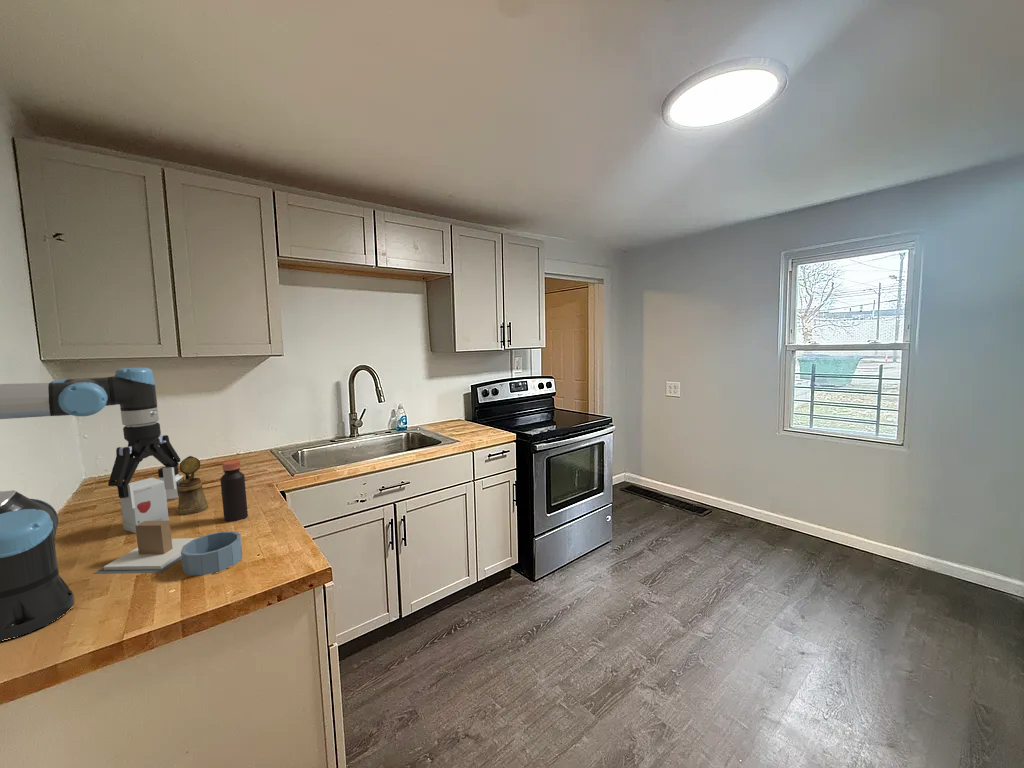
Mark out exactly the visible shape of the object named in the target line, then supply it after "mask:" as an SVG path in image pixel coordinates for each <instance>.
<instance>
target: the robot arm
mask: <svg viewBox="0 0 1024 768" xmlns="http://www.w3.org/2000/svg"><path fill="white" fill-rule="evenodd" d="M114 373H115V374H114V375H113V376H107V377H89V378H88V377H87V378H86V377H85V378H66V379H65V378H64V379H57V380H53V381H50V382H38V383H35V382H34V383H33V382H31V383H28V382H27V383H0V420H8V419H9V420H13V419H25V418H26V419H27V418H38V417H39V418H41V417H60V416H61V417H62V416H74V417H89V416H94V415H95V414H98V413H99V412H101V411H102V410H103V409H104V408H105V407H108V406H117V405H119V408H120V415H121V416H120V417H121V425H123V426H124V427H123V428H122V432H123V437H124V440H125V441H126V442H127V443H128V444H127V446H121V447H120V446H118V447H116V450H115V451H116V453H115V460H114V464H113V466H112V471H111V473H110V477H109V480H108V484H107V485H108V486H109V487H117V492H118V493H117V494H118V498H119V499H120V498H121V500H120V504H121V503H122V509H133V508H135V502H134V494H133V487H132V484H129V483H131V480H132V479H133V476H134V474H135V472H136V470H137V469H138V466H139V464H140V463H141V462H142V461H143V460H144V459H147V458H148V457H151V456H152V457H153V458H155V459H156V460H157V461H158V462H160V463H161V464H162V465H163V467H164V468H162V467H161V468H162V469H163V477H164V485H165V489H176V482H175V475H176V474H175V466H177V467H178V466H180V464H179V463H181V458H180V456H179V455H178V453H177V451H176V450H175V448H174V447H173V445H172V444H171V442H170V438H169V435H167V434H166V435H165V434H164V435H162V433H161V431H162V430H161V424H160V423H159V422H158V421H160V420H159V419H160V418H159V410H158V401H157V392H156V389H157V388H156V383H155V382H156V381H155V377H154V372H153V370H152V369H151V368H149V367H124V368H117V369H116V370H115V372H114ZM122 509H121V510H122ZM58 527H59V516H58V512H57V511H56V510H55V508H54V507H53V506H52V505H51V504H50V503H48V502H46V501H44V500H40V499H37V498H29V497H27V496H25V495H24V494H22V493H20V492H19V491H16V490H5V491H1V490H0V641H2V640H4V639H8V638H13V637H17V636H20V637H22V636H21V635H23V636H25V635H24V634H26V635H28V634H27V633H29V634H31V633H33V632H32V631H34V630H36V629H39V628H41V627H43V626H45V627H47V626H48V625H47V624H49V623H51V622H52V621H54V620H56V619H57V618H59V617H60V616H62V615H63V614H65V613H66V612H67V611H68V610H69V609H70V608H71V607H72V606H73V607H74V605H75V603H74V602H75V595H74V592H73V591H72V590H71V589H70V587H69V586H68V585H67V583H66V582H65V581H64V580H63V579H62V577H61V575H60V572H59V571H60V570H59V565H58V558H57V552H56V550H57V549H56V546H55V545H56V542H55V541H56V540H55V539H56V534H57V530H58ZM65 615H66V614H65ZM56 621H57V620H56ZM51 624H52V623H51ZM46 625H47V626H46ZM49 625H50V624H49ZM43 628H44V627H43ZM41 629H42V628H41ZM39 630H40V629H39ZM36 631H37V630H36ZM30 632H31V633H30ZM34 632H35V631H34ZM17 638H18V637H17Z"/></svg>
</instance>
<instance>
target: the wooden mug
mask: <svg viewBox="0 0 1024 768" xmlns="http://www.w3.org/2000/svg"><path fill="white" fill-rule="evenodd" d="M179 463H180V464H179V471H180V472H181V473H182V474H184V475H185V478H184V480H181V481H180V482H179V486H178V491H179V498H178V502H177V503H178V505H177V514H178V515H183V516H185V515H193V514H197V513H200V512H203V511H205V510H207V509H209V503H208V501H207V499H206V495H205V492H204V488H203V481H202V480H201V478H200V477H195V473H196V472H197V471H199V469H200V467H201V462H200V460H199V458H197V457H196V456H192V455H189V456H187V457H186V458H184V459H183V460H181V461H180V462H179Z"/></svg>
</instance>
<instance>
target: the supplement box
mask: <svg viewBox="0 0 1024 768" xmlns="http://www.w3.org/2000/svg"><path fill="white" fill-rule="evenodd" d="M129 484H132V487H133V494H134V502H135V508H133V509H122V503H121V502H120V508H121V517H122V526H123V530H125V531H127V532H131V533H133V534H136V527H135V526H136V525H138V524H140V523H142V522H144V521H170V519H169V512H168V511H169V510H168V500H167V498H166V489H165V485H164V481H162V480H160V479H159V478H155V477H149V478H144V479H139V480H135V481H133V482H129ZM119 499H120V501H121V498H119Z"/></svg>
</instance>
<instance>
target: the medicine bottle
mask: <svg viewBox="0 0 1024 768" xmlns="http://www.w3.org/2000/svg"><path fill="white" fill-rule="evenodd" d="M164 467H165V466H163V467H160V468H159V469H158V470H157V475H158V480H162V481H164V477H163V469H162V468H164ZM175 474H176V475H175V482H176V489H166V498H167V501H169V500H175V499H179V491H178V486H179V482H180V481H181V480H185V478H184V475H180V474H179V467H178V466H175Z"/></svg>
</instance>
